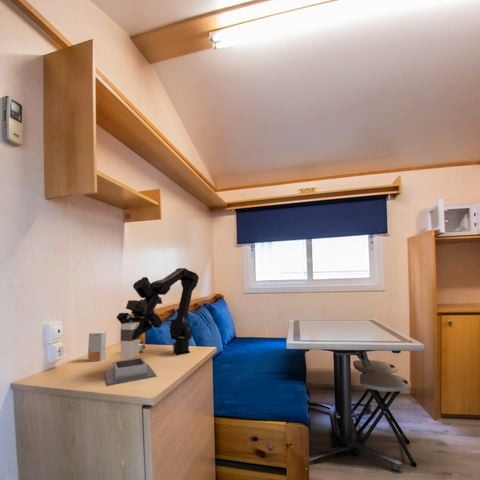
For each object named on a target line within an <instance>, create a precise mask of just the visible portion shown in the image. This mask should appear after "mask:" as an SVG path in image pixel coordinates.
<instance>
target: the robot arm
mask: <svg viewBox="0 0 480 480" xmlns="http://www.w3.org/2000/svg"><path fill="white" fill-rule="evenodd" d="M179 281H180V285H181V287H182V291H181V295H180V301H179V305H178V309H177V314H176V316H175V318H174V319H171V320H170V326H169V327H168V328H169V334H170V338H171V339H170V340H173V343H172V349H173V350H172V353H174V354H175V355H181V354H182V355H183V354H189V353H191V351H190V347H189V345H190V343H189V341H190V340H191V339H192V336H193V333H192V332H191V330H190V329H189V326H190V324H189V320H188V314H189V310H190V309H189V308H190V305H191V300H192V294H193V291H194V290H195V288H196V287H197V285H198V282H199V275H198V274H197V273H196V272H195V271H191V270H188V268H186V267H180V268H178V267H177V268H176V269H175V270H174V271H173V272H171V273H169V274H168V275H167V276H166V277H163V278H161V279H157V280H154V281H152V282H150V280H149V278H148V277H147V276H143V277H142V278H140V279H139V280H137V281H136V282H133V285H132V287H133V290H135V292H136V293H137V295H138V296H139V297H140V298H141V299H139V300H135V299H133V300H132V299H131V300H128V301H127V303H126V307H125V309H126V310H128V311H131V312H130V313H131V314H130V313H129V312H119V313H118V314H117V316H116V319H117V321H119V323H121V325H122V324H124V323H129V322H139V326H138V327H137V329H136V331H135V333H134V335H133V337H132V339H133V340H134V339H136V338H137V337H139V336H142V335H143V334H144V333H146V332H148V331H150V330H152V329H153V328H154V329H155V328H156V329H157V328H161V326H162V324H163V320H162V318H160V316H159V314H158V313H156V312H155V310H156V309H155V308H156V307H157V305H162V304H163V300H162V297H160V295H162V296H163V295H164V296H165V295H167V294H168V292H169V291H170V290H171V287H172V286H173V285H174V284H176V283H177V282H179ZM131 315H132V316H131Z"/></svg>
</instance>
